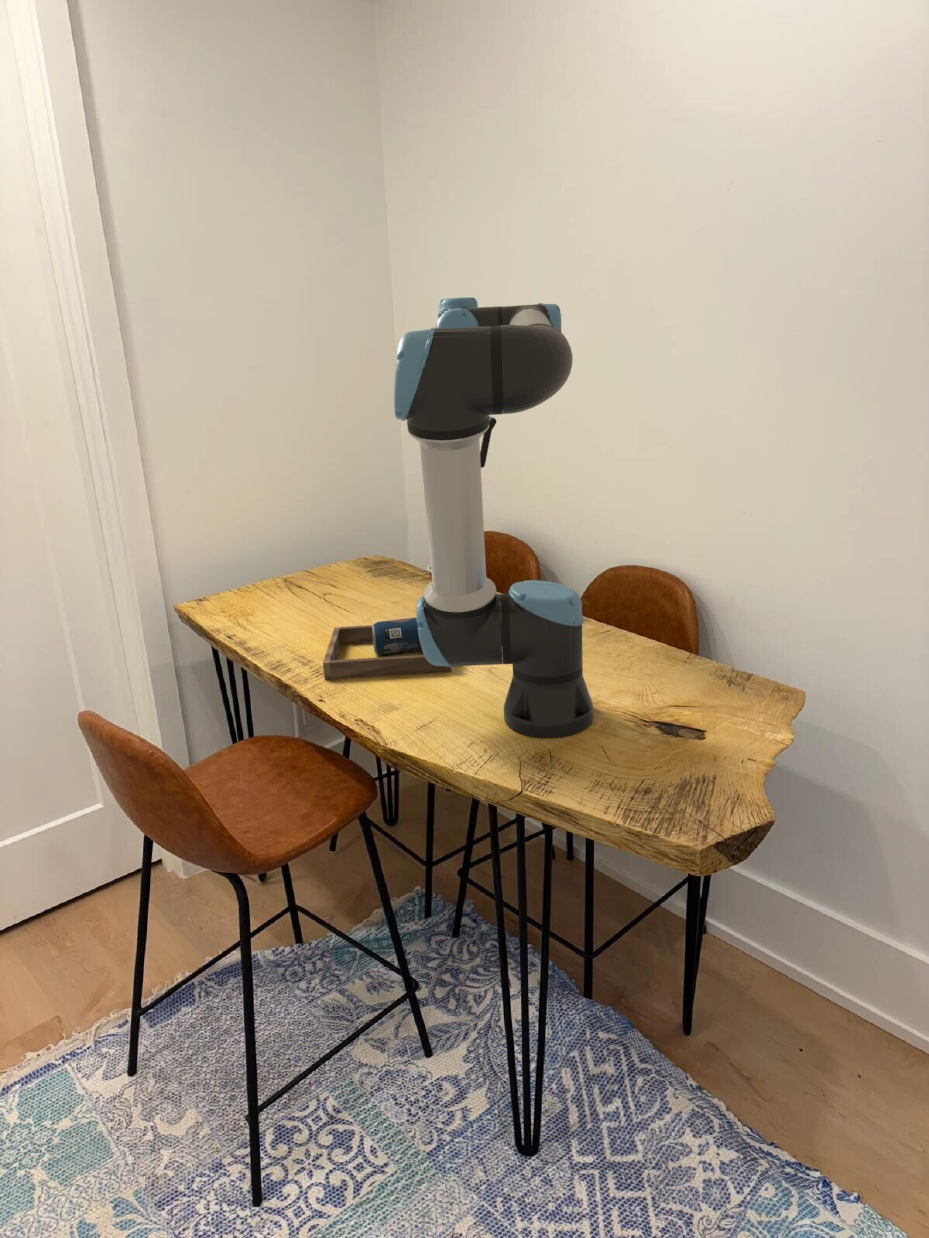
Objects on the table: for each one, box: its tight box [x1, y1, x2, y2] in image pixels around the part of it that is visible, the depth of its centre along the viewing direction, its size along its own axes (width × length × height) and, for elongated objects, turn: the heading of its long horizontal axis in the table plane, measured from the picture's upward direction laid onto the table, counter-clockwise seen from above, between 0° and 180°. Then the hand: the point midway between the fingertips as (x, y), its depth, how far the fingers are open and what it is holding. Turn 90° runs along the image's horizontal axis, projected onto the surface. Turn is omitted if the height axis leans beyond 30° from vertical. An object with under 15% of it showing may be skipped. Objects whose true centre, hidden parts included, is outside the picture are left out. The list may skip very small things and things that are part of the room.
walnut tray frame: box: [322, 624, 452, 681], centre depth 172 cm, size 20×25×4 cm
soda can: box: [371, 617, 422, 656], centre depth 174 cm, size 7×7×12 cm
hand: (468, 503), depth 170 cm, fingers closed
